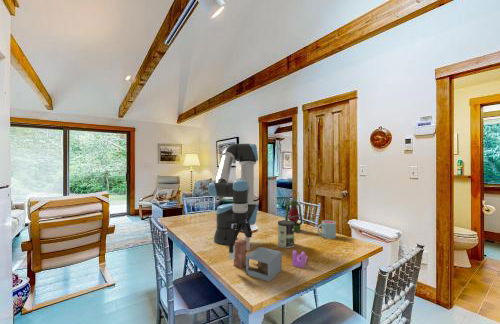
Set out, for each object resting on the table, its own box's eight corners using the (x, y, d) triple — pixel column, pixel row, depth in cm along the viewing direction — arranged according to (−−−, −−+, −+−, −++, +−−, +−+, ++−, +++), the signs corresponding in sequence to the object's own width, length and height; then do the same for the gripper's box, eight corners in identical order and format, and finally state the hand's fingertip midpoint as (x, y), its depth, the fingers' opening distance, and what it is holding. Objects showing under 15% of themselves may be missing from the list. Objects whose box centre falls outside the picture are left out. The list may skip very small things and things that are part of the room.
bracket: (303, 268, 110) (303, 253, 110) (292, 265, 113) (292, 251, 113) (308, 257, 122) (308, 244, 122) (298, 255, 124) (298, 243, 124)
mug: (329, 233, 163) (329, 219, 163) (338, 237, 154) (338, 223, 154) (313, 235, 159) (313, 221, 159) (321, 239, 150) (321, 224, 150)
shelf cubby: (246, 274, 103) (246, 255, 103) (259, 263, 114) (259, 246, 114) (269, 281, 97) (269, 262, 97) (281, 269, 108) (281, 251, 108)
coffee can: (294, 242, 144) (294, 220, 144) (294, 248, 134) (294, 225, 134) (278, 241, 147) (278, 219, 147) (277, 247, 136) (277, 223, 136)
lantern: (282, 230, 169) (282, 190, 169) (287, 227, 178) (287, 189, 178) (300, 233, 162) (300, 192, 162) (304, 230, 171) (305, 190, 171)
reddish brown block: (233, 266, 111) (233, 241, 111) (238, 262, 116) (239, 238, 116) (267, 275, 102) (267, 249, 102) (272, 271, 106) (272, 245, 106)
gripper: (232, 217, 100) (231, 265, 100) (258, 208, 121) (258, 247, 121) (218, 215, 104) (218, 261, 103) (246, 206, 125) (246, 245, 125)
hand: (239, 254), depth 112 cm, fingers open, 13 cm apart
